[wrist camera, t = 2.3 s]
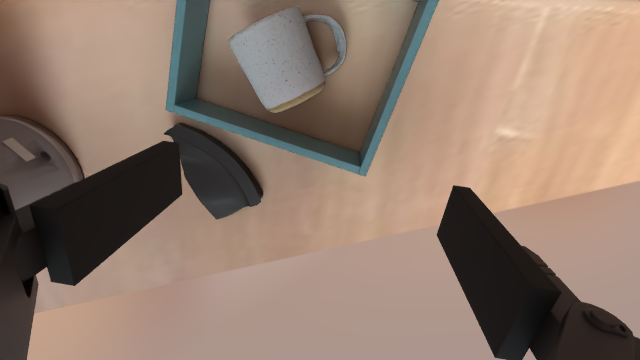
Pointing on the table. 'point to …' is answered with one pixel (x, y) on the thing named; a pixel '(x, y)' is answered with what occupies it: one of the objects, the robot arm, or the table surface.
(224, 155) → the dark sector wedge
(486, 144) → the table surface
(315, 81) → the ceramic mug
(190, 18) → the teal rectangular frame
